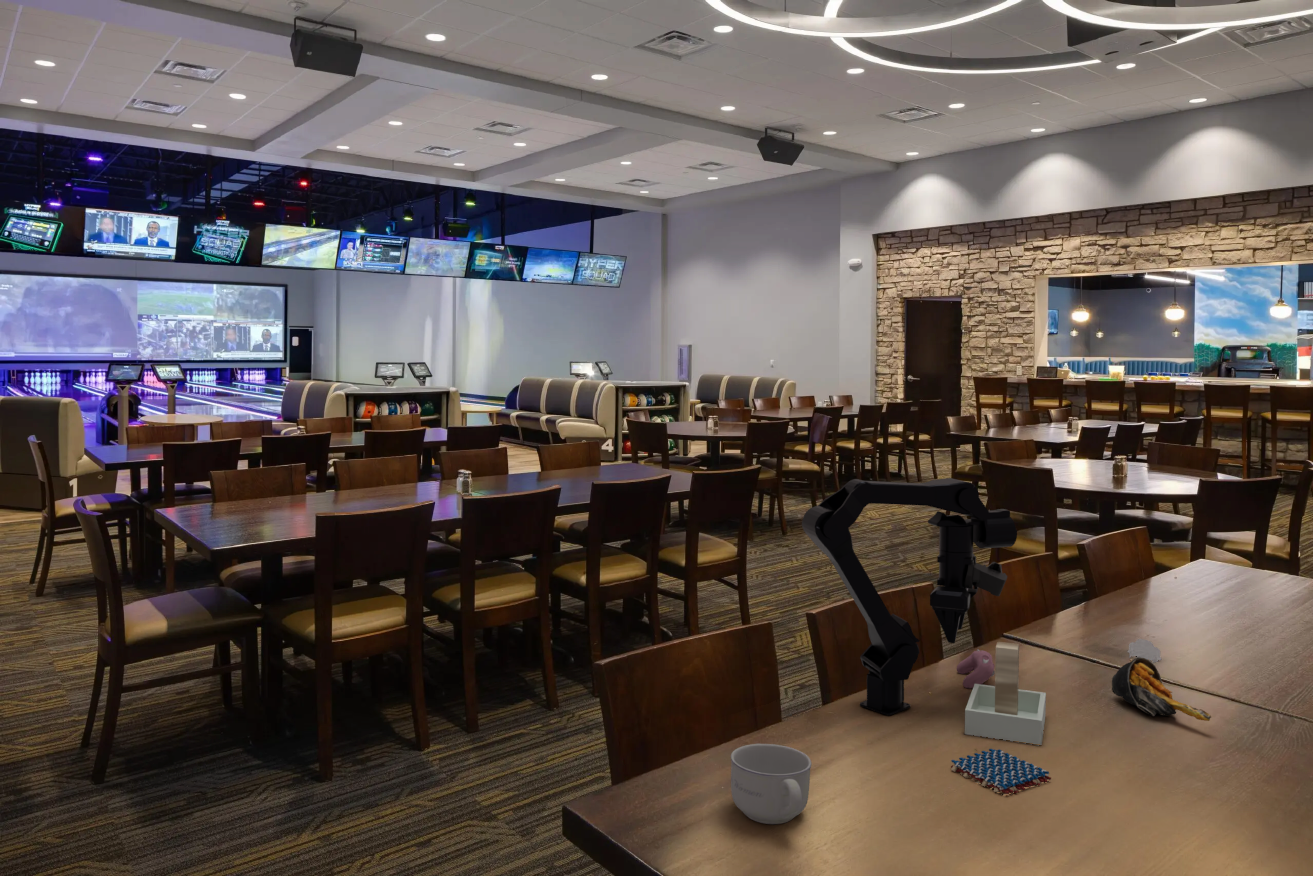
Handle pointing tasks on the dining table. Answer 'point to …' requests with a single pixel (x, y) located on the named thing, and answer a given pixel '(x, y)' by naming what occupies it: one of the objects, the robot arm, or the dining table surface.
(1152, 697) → the fried shrimp in bowl
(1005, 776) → the woven mat
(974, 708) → the box
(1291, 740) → the dining table surface
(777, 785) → the teacup
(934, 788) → the dining table surface
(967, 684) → the video game controller
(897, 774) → the dining table surface
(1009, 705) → the plate
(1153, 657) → the car cutout
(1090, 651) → the dining table surface
